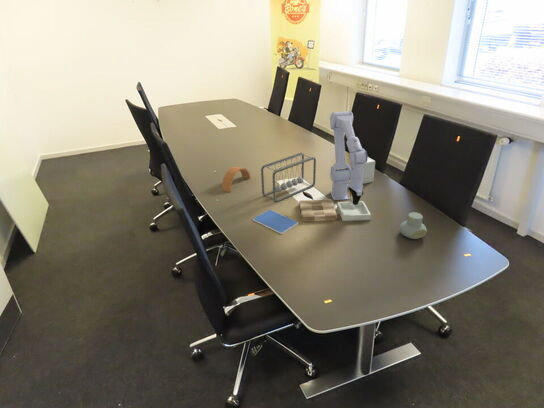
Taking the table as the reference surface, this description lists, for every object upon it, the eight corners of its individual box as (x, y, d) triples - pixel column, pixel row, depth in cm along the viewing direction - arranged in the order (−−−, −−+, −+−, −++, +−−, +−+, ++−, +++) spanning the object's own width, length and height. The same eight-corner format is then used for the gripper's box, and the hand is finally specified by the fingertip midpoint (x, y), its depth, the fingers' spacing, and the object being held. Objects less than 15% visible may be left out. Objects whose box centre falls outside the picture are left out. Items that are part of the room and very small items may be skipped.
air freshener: (406, 242, 151) (410, 222, 146) (395, 232, 158) (398, 212, 153) (428, 237, 153) (433, 218, 148) (416, 227, 160) (420, 208, 155)
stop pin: (346, 205, 173) (349, 189, 168) (355, 206, 173) (358, 189, 168) (348, 210, 169) (351, 193, 165) (357, 210, 169) (360, 194, 165)
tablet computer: (251, 221, 171) (251, 218, 170) (269, 210, 178) (269, 208, 178) (281, 236, 159) (281, 233, 158) (299, 224, 167) (299, 222, 166)
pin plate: (299, 204, 182) (299, 200, 180) (330, 203, 182) (330, 199, 181) (302, 221, 168) (303, 217, 166) (336, 219, 168) (337, 215, 167)
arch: (221, 190, 199) (220, 174, 194) (243, 177, 214) (241, 161, 209) (230, 192, 196) (228, 176, 191) (250, 178, 211) (249, 163, 206)
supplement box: (373, 181, 202) (376, 161, 196) (362, 184, 200) (364, 163, 194) (366, 176, 208) (368, 156, 202) (355, 179, 206) (357, 158, 200)
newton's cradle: (274, 203, 184) (273, 172, 175) (261, 196, 191) (260, 166, 182) (315, 186, 200) (316, 156, 191) (302, 180, 207) (302, 151, 198)
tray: (337, 207, 178) (337, 202, 177) (363, 206, 178) (363, 201, 177) (342, 221, 167) (343, 215, 165) (370, 220, 167) (370, 214, 165)
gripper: (344, 170, 169) (342, 195, 176) (351, 183, 156) (349, 210, 163) (359, 169, 169) (356, 194, 176) (367, 182, 156) (364, 209, 163)
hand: (354, 202), depth 169 cm, fingers closed on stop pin, 4 cm apart
